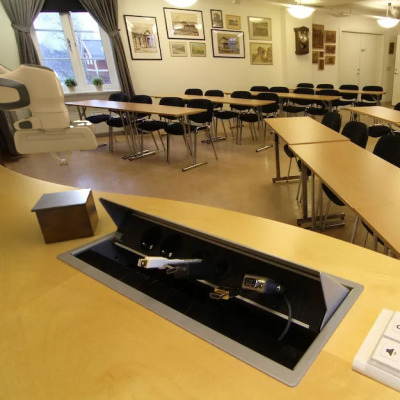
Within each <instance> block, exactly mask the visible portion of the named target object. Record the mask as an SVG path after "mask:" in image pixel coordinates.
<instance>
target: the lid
mask: <svg viewBox="0 0 400 400" xmlns="http://www.w3.org/2000/svg"><path fill="white" fill-rule="evenodd" d="M91 191H92V188H83V189H74V190H66V191H64V190H63V191H55V192H48V193H47V192H46V193H42V195H41V196H40V198H39V199H38V200H37V201H36V203H35V204H34V205H33V206H32V207H31V209H30V212H31V213H35V212H39V211H47V210H54V209H62V208H69V207H77V206H84V205H86V204H87V201H88V198H89V196H90V193H91Z"/></svg>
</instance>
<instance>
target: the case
mask: <svg viewBox="0 0 400 400" xmlns="http://www.w3.org/2000/svg"><path fill="white" fill-rule="evenodd" d="M34 213H35V216H36V219H37V222H38V226H39V228H40V231H41V234H42V237H43V241H44V244H45V245H49V244H50V245H51V244H55V243H61V242H66V241H71V240H79V239H84V238H90V237H94V236H95V234H96V231H97V226H98V223H97V222H99V219H98V218H99V214H98V210H97V206H96V202H95V199H94V195H93V190H91V193H90V196H89V198H88V201H87V204H86V205H84V206H77V207H69V208H62V209H54V210H47V211H39V212H34ZM94 233H95V234H94ZM93 235H94V236H93ZM89 236H90V237H89Z"/></svg>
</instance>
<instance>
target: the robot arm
mask: <svg viewBox="0 0 400 400" xmlns="http://www.w3.org/2000/svg"><path fill="white" fill-rule="evenodd" d="M22 110H23V111H24V110H30V113H31V116H28V117H25V118H23V119H19V120H17V121H15V122H14V123H13V127H14V129H15V132H14V134H13V140H14V145H15V150H16V151H17V152H18V153H19V154H21V155H30V154H47V153H49V154H50V156H51V158H53V160H55V161H56V163H57V166H58V167H63V166H70V165H71V161H70V159H71V156H72V154H73V152H78V151H92V150H96V149H97V148H98V147H99V143H98V139H97V137H96V132H97V130H96V127H95V124H94V123H93V122H91V121H89V120H71V117H70V113H69V109H68V107H67V106H66V103H65V93H64V88H63V86H62V83H61V79H60V78H59V76H58V74H57V72H56V71H55V70H54V69H53V68H51V67H49V66H45V65H41V64H34V63H21V64H20V65H19V66H18V67H16V68H15V69H13V70H12V69H10V68H8V67H6V66H5V65H3V64H1V63H0V111H5V112H6V111H7V112H16V111H22ZM61 152H64V154H65V155H66V157H65V158H60V157H59V156H58V153H61Z"/></svg>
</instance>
